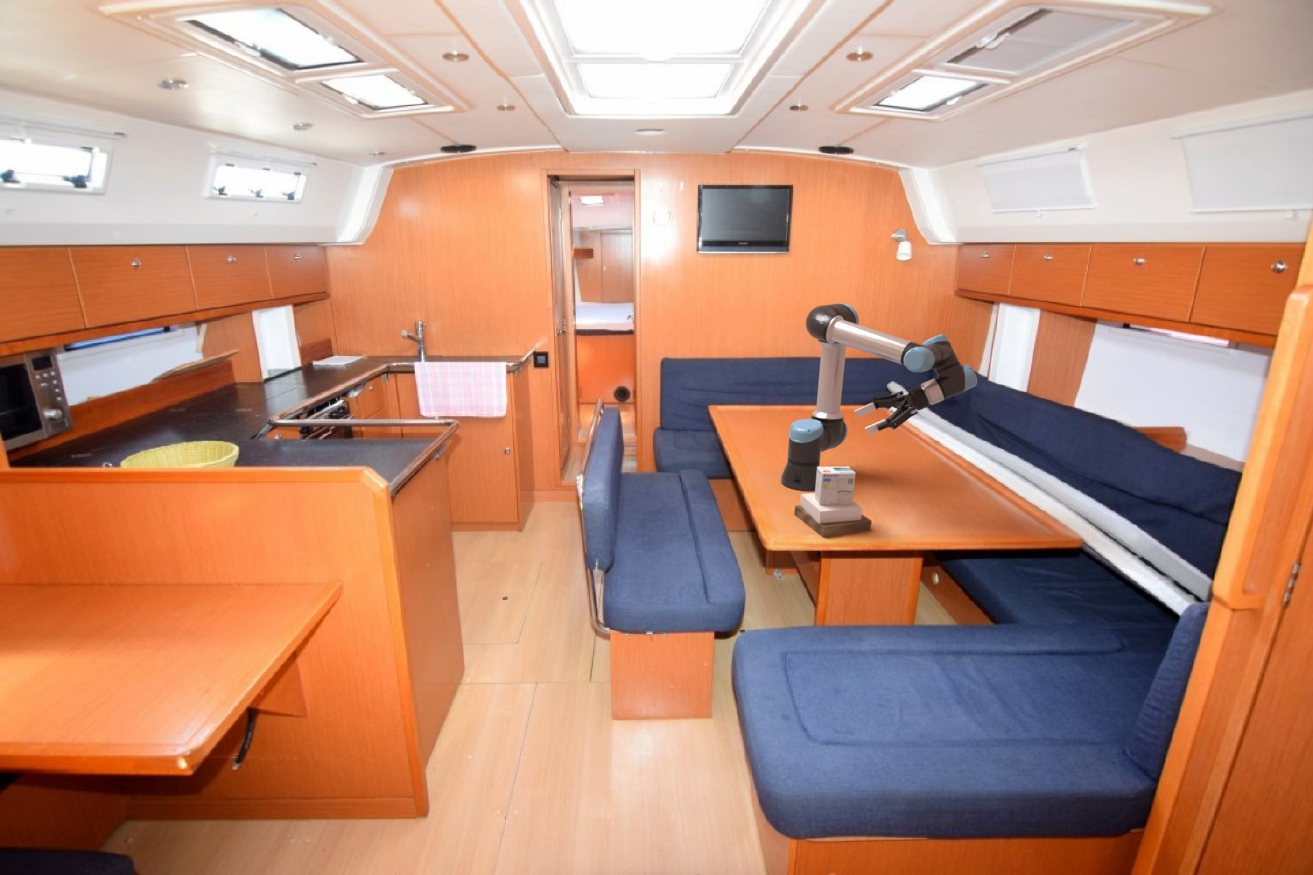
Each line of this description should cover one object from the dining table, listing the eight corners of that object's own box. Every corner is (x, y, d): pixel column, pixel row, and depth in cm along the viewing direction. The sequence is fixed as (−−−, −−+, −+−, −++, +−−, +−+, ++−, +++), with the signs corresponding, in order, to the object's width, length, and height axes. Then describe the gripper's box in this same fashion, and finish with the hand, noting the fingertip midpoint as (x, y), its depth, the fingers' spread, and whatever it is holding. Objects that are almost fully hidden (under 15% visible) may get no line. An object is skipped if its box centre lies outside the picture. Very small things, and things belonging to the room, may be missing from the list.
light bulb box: (846, 497, 198) (849, 465, 195) (853, 505, 192) (856, 473, 189) (813, 497, 198) (816, 465, 195) (819, 505, 191) (822, 473, 188)
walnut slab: (794, 516, 202) (795, 505, 201) (838, 510, 207) (840, 499, 206) (822, 539, 187) (823, 527, 186) (870, 532, 192) (871, 520, 191)
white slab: (799, 505, 201) (800, 494, 200) (839, 502, 204) (840, 491, 203) (819, 523, 188) (820, 511, 187) (860, 519, 191) (862, 507, 190)
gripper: (943, 420, 187) (875, 449, 192) (915, 390, 209) (855, 416, 214) (935, 400, 184) (867, 429, 189) (908, 372, 206) (847, 398, 212)
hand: (860, 422), depth 202 cm, fingers open, 13 cm apart
